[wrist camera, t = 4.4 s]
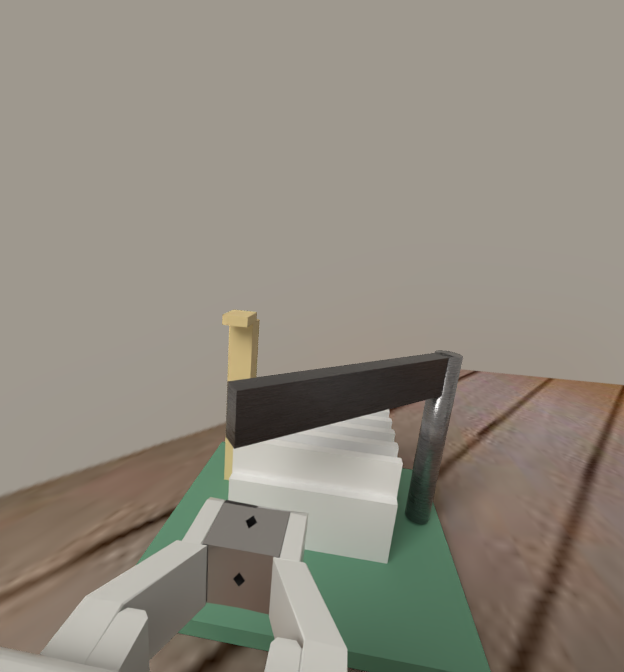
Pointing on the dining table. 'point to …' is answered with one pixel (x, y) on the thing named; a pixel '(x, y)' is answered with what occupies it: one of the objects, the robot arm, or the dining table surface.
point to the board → (358, 594)
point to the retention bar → (353, 408)
